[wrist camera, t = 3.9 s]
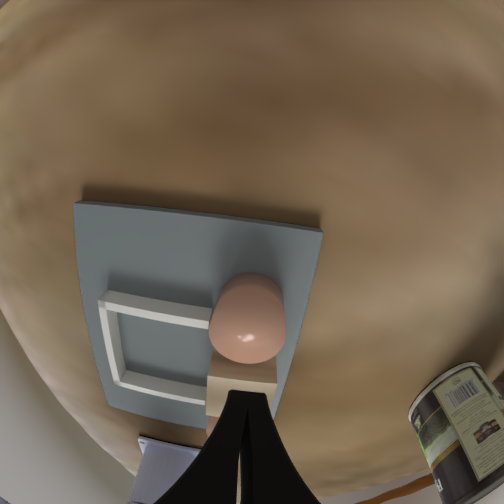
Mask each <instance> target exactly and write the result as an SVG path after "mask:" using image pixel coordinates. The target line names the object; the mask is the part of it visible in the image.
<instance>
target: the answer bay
mask: <svg viewBox="0 0 504 504" xmlns="http://www.w3.org/2000/svg"><path fill="white" fill-rule="evenodd" d="M98 307H99V313H100V319H101V325H102V331H103V336H104V341H105V346H106V351H107V355H108V360H109V364H110V368H111V372H112V376H113V380H114V384H115V385H118V386H121V387H125V388H128V389H132V390H136V391H139V392H143V393H147V394H151V395H156V396H160V397H164V398H169V399H174V400H178V401H183V402H189V403H194V404H200V405H205V402H206V397H207V387H203V386H198V385H192V384H186V383H181V382H176V381H171V380H166V379H162V378H157V377H153V376H149V375H144V374H140V373H136V372H133V371H129V370H126V366H125V361H124V356H123V350H122V344H121V338H120V331H119V325H118V317H117V312H120V313H124V314H129V315H133V316H138V317H143V318H148V319H152V320H158V321H163V322H168V323H173V324H179V325H185V326H191V327H197V328H203V329H209V325H210V322H211V318H212V310H213V309H212V308H206V307H199V306H193V305H187V304H180V303H175V302H169V301H163V300H157V299H152V298H147V297H141V296H136V295H131V294H126V293H121V292H116V291H112V290H106V292H105V293H104V294H103V295H102V296H101V297H100V298H99V299H98Z"/></svg>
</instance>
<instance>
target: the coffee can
mask: <svg viewBox="0 0 504 504" xmlns="http://www.w3.org/2000/svg"><path fill="white" fill-rule="evenodd" d="M408 418H409V421H410V422H411V424H412V426H413V428H414V430H415V433H416V435H417V437H418V440H419V442H420V444H421V447H422V449H423V452H424V454H425V457H426V459H427V462H428V464H429V467H430V470H431V472H432V475H433V478H434V481H435V483H436V486H437V489H438V492H439V494H440V497H441V500H442V503H443V504H474V503H475V502H477V501H478V500H480V499H482V498H483V497H485V496H486V495H487V494H489V493H491V492H492V491H493V490H495V489H496V488H498V487H499V486H500V485H502V484H503V483H504V399H503V398H502V396H501V395H500V394H499V392H498V391H497V389H496V388H495V387H494V385H493V384H492V383H491V381H490V380H489V379H488V377H487V376H486V375H485V373H484V372H483V371H482V369H481V367H480V365H479V364H477V363H475V362H467V363H463V364H460V365H458V366H456V367H454V368H452V369H450V370H448V371H446V372H445V373H444V374H442V375H441V376H439V377H438V378H437V379H435V380H434V381H433V382H432V383H430V384H429V385H428V387H426V388H425V389H424V390H423V391H422V392H421V393H420V395H419V396H418V397H417V398H416V400H415V401H414V402H413V404H412V406H411V408H410V410H409V414H408Z"/></svg>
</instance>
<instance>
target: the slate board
mask: <svg viewBox="0 0 504 504" xmlns="http://www.w3.org/2000/svg"><path fill="white" fill-rule="evenodd" d="M73 208H74V232H75V246H76V257H77V266H78V275H79V282H80V289H81V296H82V302H83V308H84V313H85V319H86V324H87V328H88V333H89V338H90V342H91V346H92V350H93V354H94V358H95V362H96V366H97V369H98V373H99V376H100V380H101V383H102V386H103V389H104V393H105V396H106V399H107V402H108V405H109V406H111V407H114V408H118V409H121V410H124V411H127V412H131V413H134V414H138V415H142V416H145V417H149V418H153V419H157V420H162V421H166V422H170V423H175V424H180V425H185V426H190V427H196V428H202V429H207V424H208V418H209V415H206V402H205V405H200V404H194V403H189V402H183V401H178V400H174V399H169V398H164V397H160V396H156V395H151V394H147V393H143V392H139V391H136V390H132V389H128V388H125V387H121V386H118V385H115V384H114V380H113V376H112V372H111V368H110V364H109V360H108V355H107V351H106V346H105V341H104V336H103V331H102V325H101V319H100V313H99V307H98V299H99V298H100V297H101V296H102V295H103V294H104V293H105V292H106V290H112V291H116V292H121V293H126V294H131V295H136V296H141V297H147V298H152V299H157V300H163V301H169V302H175V303H180V304H187V305H193V306H199V307H206V308H212V309H213V310H212V316H213V313H214V310H215V307H216V305H217V302H218V299H219V296H220V293H221V291H222V289H223V287H224V285H225V284H226V283H227V282H228V281H229V280H230V279H232V278H233V277H235V276H238V275H241V274H245V273H256V274H261V275H264V276H266V277H268V278H270V279H271V280H273V281H274V282H275V283H276V284H277V285H278V287H279V288H280V290H281V292H282V294H283V299H284V315H285V342H284V345H283V347H282V348H281V350H280V351H279V352H278V353H277V354H276V367H277V387H276V391H275V394H274V397H273V401H272V404H271V408H270V411H271V415H272V418H273V419H274V416H275V413H276V410H277V407H278V404H279V401H280V398H281V395H282V392H283V388H284V385H285V382H286V379H287V375H288V372H289V369H290V365H291V362H292V358H293V355H294V351H295V348H296V344H297V341H298V337H299V333H300V330H301V326H302V322H303V318H304V314H305V311H306V307H307V303H308V299H309V295H310V290H311V286H312V282H313V278H314V274H315V269H316V265H317V260H318V256H319V251H320V247H321V242H322V237H323V232H322V230H321V229H320V228H315V227H308V226H302V225H295V224H288V223H281V222H274V221H267V220H260V219H252V218H245V217H237V216H229V215H221V214H213V213H205V212H196V211H188V210H179V209H169V208H160V207H150V206H140V205H130V204H119V203H108V202H96V201H83V200H81V201H78V202H75V203H73ZM117 317H118V325H119V331H120V338H121V344H122V350H123V356H124V361H125V366H126V370H129V371H133V372H136V373H140V374H144V375H149V376H153V377H157V378H162V379H166V380H171V381H176V382H181V383H186V384H192V385H198V386H203V387H207V376H208V371H209V367H210V362H211V358H212V353H213V349H214V346H213V345H212V343H211V341H210V338H209V329H203V328H197V327H191V326H185V325H179V324H173V323H168V322H163V321H158V320H152V319H148V318H143V317H138V316H133V315H129V314H124V313H120V312H117ZM211 319H212V318H211Z"/></svg>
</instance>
